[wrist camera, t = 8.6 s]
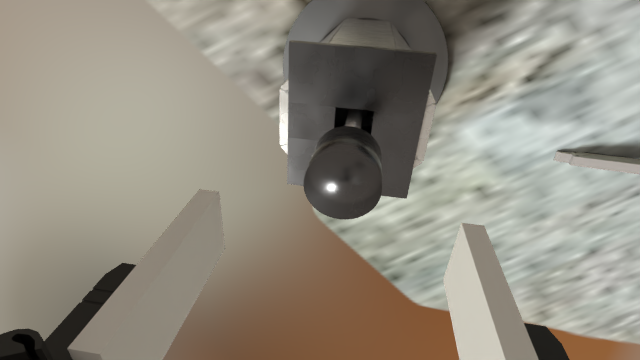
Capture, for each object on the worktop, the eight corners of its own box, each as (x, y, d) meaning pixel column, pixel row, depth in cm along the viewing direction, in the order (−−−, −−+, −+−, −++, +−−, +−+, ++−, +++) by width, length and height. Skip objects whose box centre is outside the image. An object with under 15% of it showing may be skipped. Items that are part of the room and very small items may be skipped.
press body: (315, 13, 33) (276, 38, 21) (423, 21, 32) (450, 53, 20) (310, 141, 40) (278, 218, 27) (399, 150, 39) (408, 236, 26)
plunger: (320, 34, 30) (258, 98, 15) (412, 41, 29) (446, 117, 14) (315, 119, 34) (263, 240, 19) (397, 128, 33) (410, 261, 18)
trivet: (285, -28, 33) (283, -28, 32) (466, -16, 31) (467, -15, 30) (284, 135, 41) (282, 138, 40) (427, 151, 39) (428, 154, 39)
